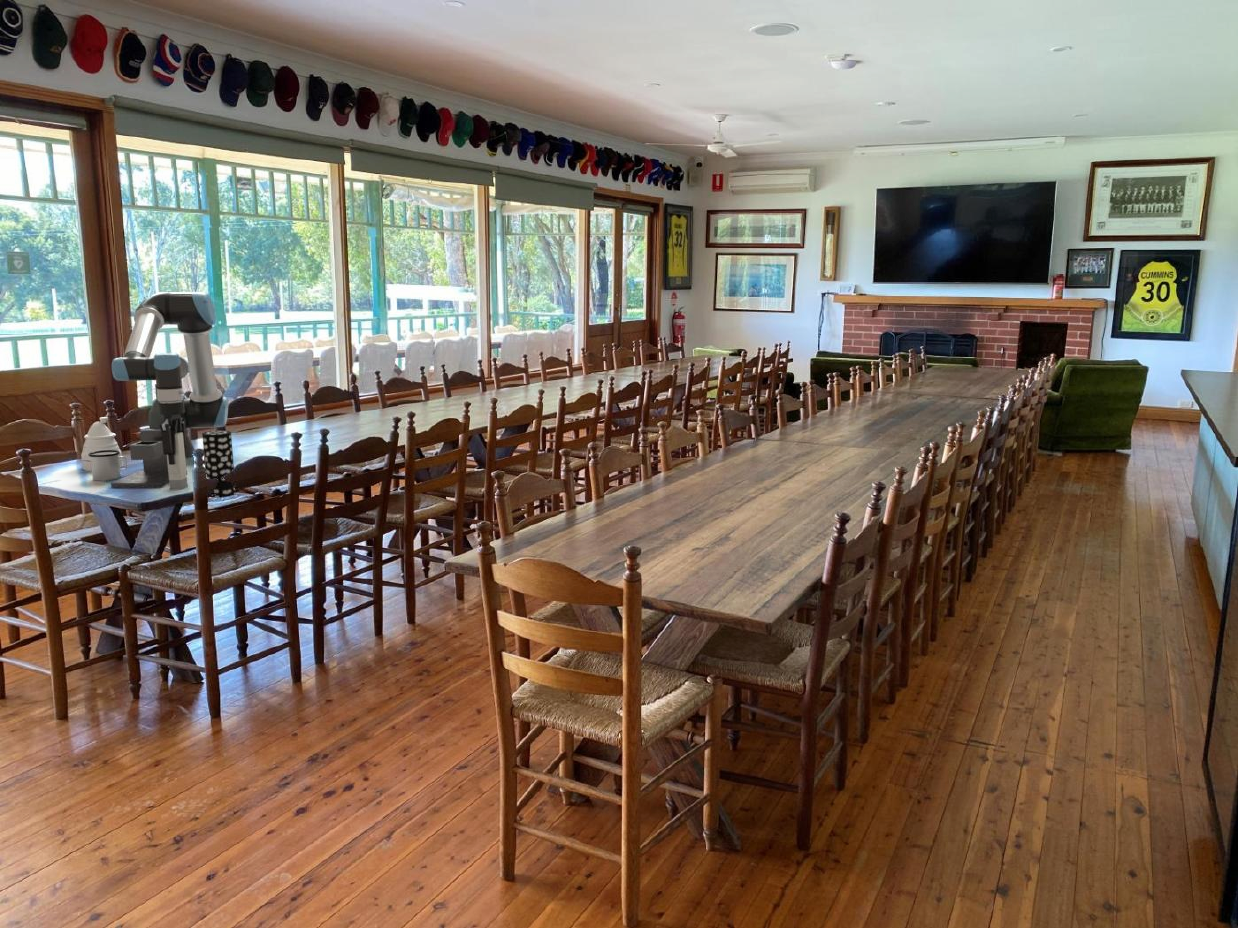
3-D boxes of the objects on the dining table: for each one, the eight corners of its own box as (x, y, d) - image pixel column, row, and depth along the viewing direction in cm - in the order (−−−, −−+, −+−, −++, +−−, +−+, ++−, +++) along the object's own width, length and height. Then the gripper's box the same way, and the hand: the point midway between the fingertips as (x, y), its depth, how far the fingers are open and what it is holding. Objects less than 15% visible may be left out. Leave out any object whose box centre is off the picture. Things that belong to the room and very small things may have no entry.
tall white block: (175, 486, 304) (170, 432, 300) (187, 486, 304) (182, 432, 300) (170, 488, 300) (164, 434, 296) (182, 488, 300) (177, 434, 296)
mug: (100, 482, 308) (97, 456, 306) (85, 479, 313) (82, 453, 311) (135, 476, 318) (132, 450, 316) (119, 473, 323) (117, 447, 321)
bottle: (172, 468, 331) (164, 385, 325) (147, 468, 331) (139, 385, 325) (185, 463, 340) (177, 382, 334) (160, 463, 340) (153, 382, 334)
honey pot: (121, 462, 342) (116, 414, 338) (124, 468, 331) (119, 419, 328) (81, 466, 335) (75, 417, 331) (83, 472, 324) (78, 422, 321)
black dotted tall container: (239, 491, 296) (235, 430, 292) (230, 497, 288) (224, 435, 284) (213, 491, 296) (208, 430, 292) (203, 497, 288) (197, 435, 284)
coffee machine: (141, 474, 321) (136, 429, 318) (187, 474, 321) (183, 429, 318) (111, 487, 301) (106, 439, 298) (160, 487, 302) (155, 439, 298)
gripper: (170, 405, 288) (177, 478, 292) (194, 398, 304) (200, 467, 309) (146, 405, 288) (153, 478, 292) (171, 398, 304) (177, 467, 309)
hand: (177, 472), depth 301 cm, fingers closed on tall white block, 4 cm apart
